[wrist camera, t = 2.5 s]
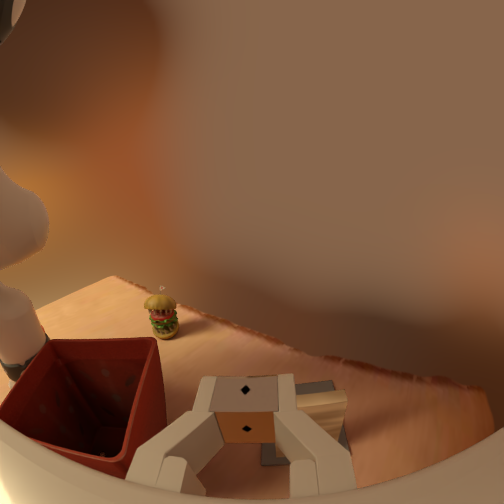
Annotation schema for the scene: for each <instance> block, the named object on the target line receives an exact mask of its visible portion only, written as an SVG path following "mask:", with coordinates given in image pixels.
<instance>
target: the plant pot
mask: <svg viewBox="0 0 504 504" xmlns="http://www.w3.org/2000/svg"><path fill="white" fill-rule="evenodd" d="M0 419H1V420H2V421H3V422H5V423H6V424H8V425H9V426H11V427H12V428H14V429H15V430H17V431H18V432H20V433H22V434H23V435H25V436H27V437H28V438H30V439H32V440H33V441H35V442H37V443H39V444H40V445H42V446H44V447H46V448H48V449H50V450H52V451H54V452H56V453H58V454H60V455H62V456H64V457H66V458H68V459H70V460H73V461H75V462H77V463H80V464H82V465H84V466H87V467H89V468H92V469H95V470H97V471H100V472H103V473H105V474H108V475H111V476H114V477H117V478H120V479H124V480H125V478H126V475H127V473H128V470H129V468H130V465H131V463H132V460H133V458H134V455H135V453H136V450H137V448H138V447H140V446H141V445H143V444H144V443H145V442H147V441H148V440H150V439H151V438H152V437H154V436H155V435H157V434H158V433H159V432H161V431H162V430H163V429H165V428H166V427H167V419H166V404H165V393H164V384H163V376H162V369H161V362H160V356H159V350H158V345H157V340H156V339H155V338H153V337H138V338H113V339H52V340H49V341H48V342H46V344H45V345H44V346H43V347H42V348H41V350H40V351H39V352H38V354H37V355H36V356H35V357H34V359H33V360H32V361H31V363H30V364H29V365H28V367H27V368H26V369H25V371H24V372H23V373H22V375H21V376H20V378H19V379H18V380H17V382H16V383H15V385H14V386H13V388H12V389H11V391H10V392H9V393H8V395H7V396H6V398H5V399H4V401H3V402H2V404H1V405H0ZM100 452H104V453H106V456H105V457H100V456H99V453H100Z"/></svg>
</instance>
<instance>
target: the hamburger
mask: <svg viewBox="0 0 504 504" xmlns="http://www.w3.org/2000/svg"><path fill="white" fill-rule="evenodd" d="M162 289H164V287H162V286H160V291H161V290H162ZM144 308H145V309H148V310H149V314H150V313H151V315H150V318H149V319H150V320H151V322H152V323H151V324H152V325H153V327H152V329H153V333H154V335H155V336H156V337H158V338H160V339H169V338H171V337H173V336H174V335H175V334H176V333H177V331H178V328H179V323H178V320H177V319H178V318H177V317H176V316H177V315H176V314H177V312H176V310H174V309H176V302H175V301H174V300H173V299H172V298H171V297H169V296H166V295H153V296H151V297H149V298H148V299H146V301H145V303H144ZM152 310H153V311H152Z"/></svg>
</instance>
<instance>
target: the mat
mask: <svg viewBox="0 0 504 504" xmlns="http://www.w3.org/2000/svg"><path fill="white" fill-rule="evenodd" d="M295 390H296V395H304V394H313V393H321V392H329V391H335V390H334V386H333V383H332V380H329V381H321V382H313V383H303V384H295ZM338 443H339V444H341V445H342V446H343V447H344V448H345V449H346V450H348V451H349V447H348V443H347V439H346V434H345V430H344V426H343V423H342V427H341V431H340V435H339V438H338ZM288 464H291V462H290V461H289V460H288V459H287V457H276V446H275V443H262V457H261V466H270V465H288Z"/></svg>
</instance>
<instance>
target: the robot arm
mask: <svg viewBox="0 0 504 504" xmlns="http://www.w3.org/2000/svg"><path fill="white" fill-rule="evenodd" d="M25 2H26V0H0V45H1V44H2V43H3V42H4V41H5V39H6V38H7V37H8V35H9V34H10V33H11V32H12V30H13V29H14V27H15V25H16V22H17V20H18V18H19V16H20V14H21V12H22V10H23V8H24V5H25ZM48 232H49V219H48V214H47V211H46V208H45V206H44V204H43V202H42V201H41V199H40V198H39V197H38V196H37V195H36V194H35V193H33V192H32V191H29V190H27V189H24V188H22V187H20V186H19V185H17V184H16V183H14V182H13V181H12V180H11V179H10V178H9V177H8V176H7V175H6V174H5V173H4V171H3V170H2V169H1V167H0V270H2V269H5V268H7V267H10V266H13V265H16V264H19V263H22V262H23V261H25V260H27V259H28V258H30V257H32V256H33V255H35V254H36V253H38V252H40V251H41V250H42V249H43V247H44V246H45V243H46V241H47V237H48ZM49 340H50V338H49V337H48V336H47V334H46V333H45V331H44V328H43V326H42V325H41V324H40V322H39V320H38V317H37V315H36V312H35V310H34V307H33V305H32V302H31V300H30V299H29V298H28V297H27V295H25V294H24V293H23V292H21V291H20V290H17V289H15V288H10V287H7V286H5V285H4V284H3V283H1V282H0V363H1V365H2V367H3V369H4V371H5V372H6V374H7V375H8V377H9V378H10V379H9V387H10V389H12V388H13V386H14V385H15V383H16V382H17V380H18V379H19V378H20V376H21V375H22V373H23V372H24V371H25V369H26V368H27V367H28V365H29V364H30V363H31V361H32V360H33V359H34V357H35V356H36V355H37V354H38V352H39V351H40V350H41V348H42V347H43V346H44V345H45V344H46V342H48V341H49ZM224 443H276V445H277V446H278V447H279V448H280V450H281V451H282V452H283V454H284V455H285V456H286V457H287V459H288V460H289V461H290V462H291V464H290V476H289V498H287V499H229V498H216V497H206V489H205V488H204V486H203V485H202V483H201V482H200V480H199V479H198V478H197V476H196V475H197V474H198V473H199V472H200V471H201V470H202V469H203V468H204V467H205V465H206V464H207V463H208V462H209V461H210V460H211V459H212V458H213V457H214V456H215V455H216V453H217V452H218V451H219V450H220V449H221V448H222V447H223V445H224ZM0 504H504V427H503V428H501V429H500V430H498V431H497V432H495V433H493V434H492V435H490V436H489V437H487V438H485V439H484V440H482V441H480V442H478V443H477V444H475V445H473V446H471V447H469V448H467V449H466V450H464V451H462V452H460V453H458V454H456V455H454V456H452V457H449V458H447V459H445V460H443V461H441V462H438V463H436V464H434V465H431V466H429V467H426V468H424V469H421V470H419V471H416V472H413V473H410V474H408V475H405V476H402V477H399V478H396V479H392V480H389V481H386V482H382V483H378V484H375V485H371V486H367V487H363V488H358V489H357V485H356V480H355V475H354V470H353V465H352V460H351V456H350V452H349V451H348V450H346V449H345V448H344V447H343V446H342V445H341V444H339V443H338V442H337V441H336V440H335V439H334V438H332V437H331V436H330V435H329V434H328V433H327V432H326V431H325V430H323V429H322V428H321V427H320V426H319V425H318V424H317V423H316V422H315V421H314V420H312V419H311V418H310V417H309V416H308V415H307V414H306V413H305V412H304V411H303V410H297V400H296V390H295V380H294V375H293V373H290V374H278V376H277V375H264V376H203V377H202V378H201V381H200V384H199V388H198V391H197V395H196V398H195V402H194V405H193V409H192V411H187V412H185V413H184V414H183V415H182V416H180V417H179V418H178V419H176V420H175V421H174V422H173V423H171V424H170V425H169V426H167V427H166V428H165V429H163V430H162V431H161V432H159V433H158V434H157V435H155V436H154V437H152V438H151V439H150V440H148V441H147V442H145V443H144V444H143V445H141V446H140V447H138V448H137V450H136V453H135V455H134V458H133V460H132V463H131V465H130V468H129V470H128V473H127V475H126V478H125V480H124V479H120V478H117V477H114V476H111V475H108V474H105V473H103V472H100V471H97V470H95V469H92V468H89V467H87V466H84V465H82V464H80V463H77V462H75V461H73V460H70V459H68V458H66V457H64V456H62V455H60V454H58V453H56V452H54V451H52V450H50V449H48V448H46V447H44V446H42V445H40V444H39V443H37V442H35V441H33V440H32V439H30V438H28V437H27V436H25V435H23V434H22V433H20V432H18V431H17V430H15V429H14V428H12V427H11V426H9V425H8V424H6V423H5V422H3V421H2V420H1V419H0Z"/></svg>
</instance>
